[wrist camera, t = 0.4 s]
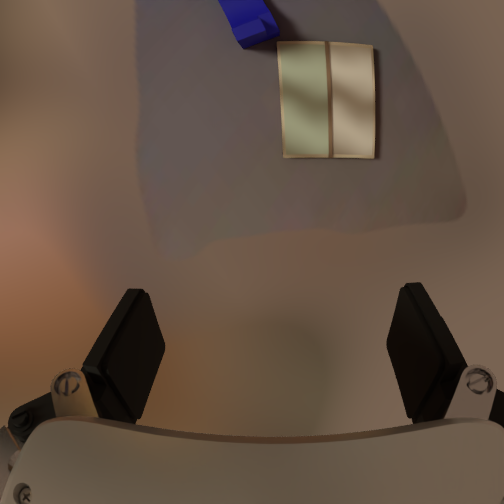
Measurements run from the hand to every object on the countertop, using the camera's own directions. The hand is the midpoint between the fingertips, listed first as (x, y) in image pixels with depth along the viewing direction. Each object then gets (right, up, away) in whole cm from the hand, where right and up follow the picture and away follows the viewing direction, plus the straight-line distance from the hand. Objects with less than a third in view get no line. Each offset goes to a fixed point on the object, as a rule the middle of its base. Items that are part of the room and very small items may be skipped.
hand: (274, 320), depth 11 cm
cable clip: (-2, +31, +16) cm, 35 cm away
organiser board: (+8, +20, +21) cm, 30 cm away
